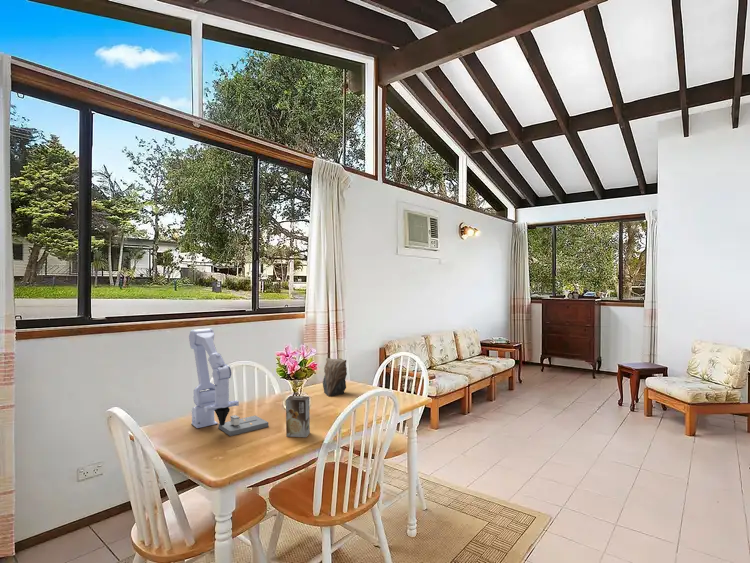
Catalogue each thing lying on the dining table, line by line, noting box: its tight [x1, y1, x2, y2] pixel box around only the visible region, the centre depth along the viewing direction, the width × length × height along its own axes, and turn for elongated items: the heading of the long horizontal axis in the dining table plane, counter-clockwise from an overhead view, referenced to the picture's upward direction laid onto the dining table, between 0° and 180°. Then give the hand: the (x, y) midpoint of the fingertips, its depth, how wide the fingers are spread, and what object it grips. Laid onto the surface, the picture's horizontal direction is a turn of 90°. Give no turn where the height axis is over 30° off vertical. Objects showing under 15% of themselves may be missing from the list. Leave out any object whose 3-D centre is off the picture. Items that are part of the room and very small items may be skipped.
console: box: [217, 414, 269, 437], centre depth 197 cm, size 18×13×2 cm
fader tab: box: [229, 414, 241, 426], centre depth 194 cm, size 2×4×3 cm, turn 41°
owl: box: [322, 357, 348, 397], centre depth 255 cm, size 13×13×20 cm
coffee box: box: [285, 395, 311, 438], centre depth 188 cm, size 9×6×16 cm
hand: (222, 424), depth 190 cm, fingers closed
